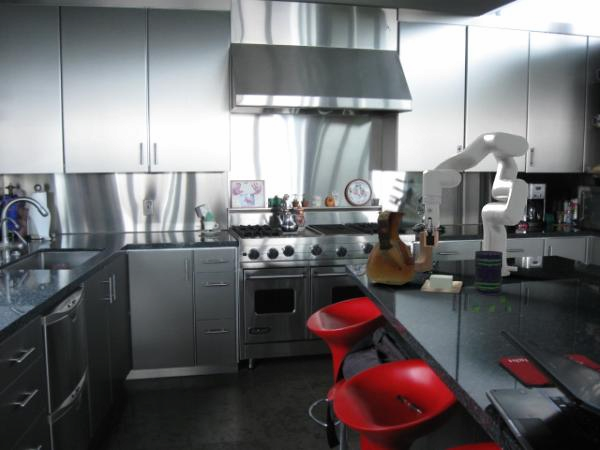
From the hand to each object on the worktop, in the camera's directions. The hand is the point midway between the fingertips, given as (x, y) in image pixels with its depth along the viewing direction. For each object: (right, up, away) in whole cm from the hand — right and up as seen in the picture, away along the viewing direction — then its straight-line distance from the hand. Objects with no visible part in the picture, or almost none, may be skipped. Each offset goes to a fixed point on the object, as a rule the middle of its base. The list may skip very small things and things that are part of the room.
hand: (431, 244), depth 222 cm
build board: (+2, -17, -10) cm, 19 cm away
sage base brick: (0, -16, -14) cm, 21 cm away
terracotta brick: (0, -1, 0) cm, 1 cm away
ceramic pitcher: (-17, -16, -2) cm, 24 cm away
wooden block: (+3, -14, +28) cm, 31 cm away
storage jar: (+16, -17, -20) cm, 31 cm away
